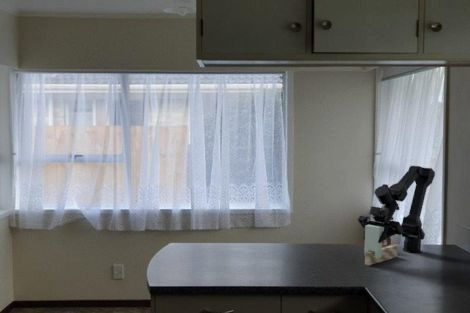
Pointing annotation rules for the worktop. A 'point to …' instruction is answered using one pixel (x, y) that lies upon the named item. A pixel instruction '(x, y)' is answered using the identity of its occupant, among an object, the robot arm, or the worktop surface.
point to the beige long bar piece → (387, 254)
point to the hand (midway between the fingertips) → (371, 240)
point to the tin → (386, 242)
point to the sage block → (373, 240)
